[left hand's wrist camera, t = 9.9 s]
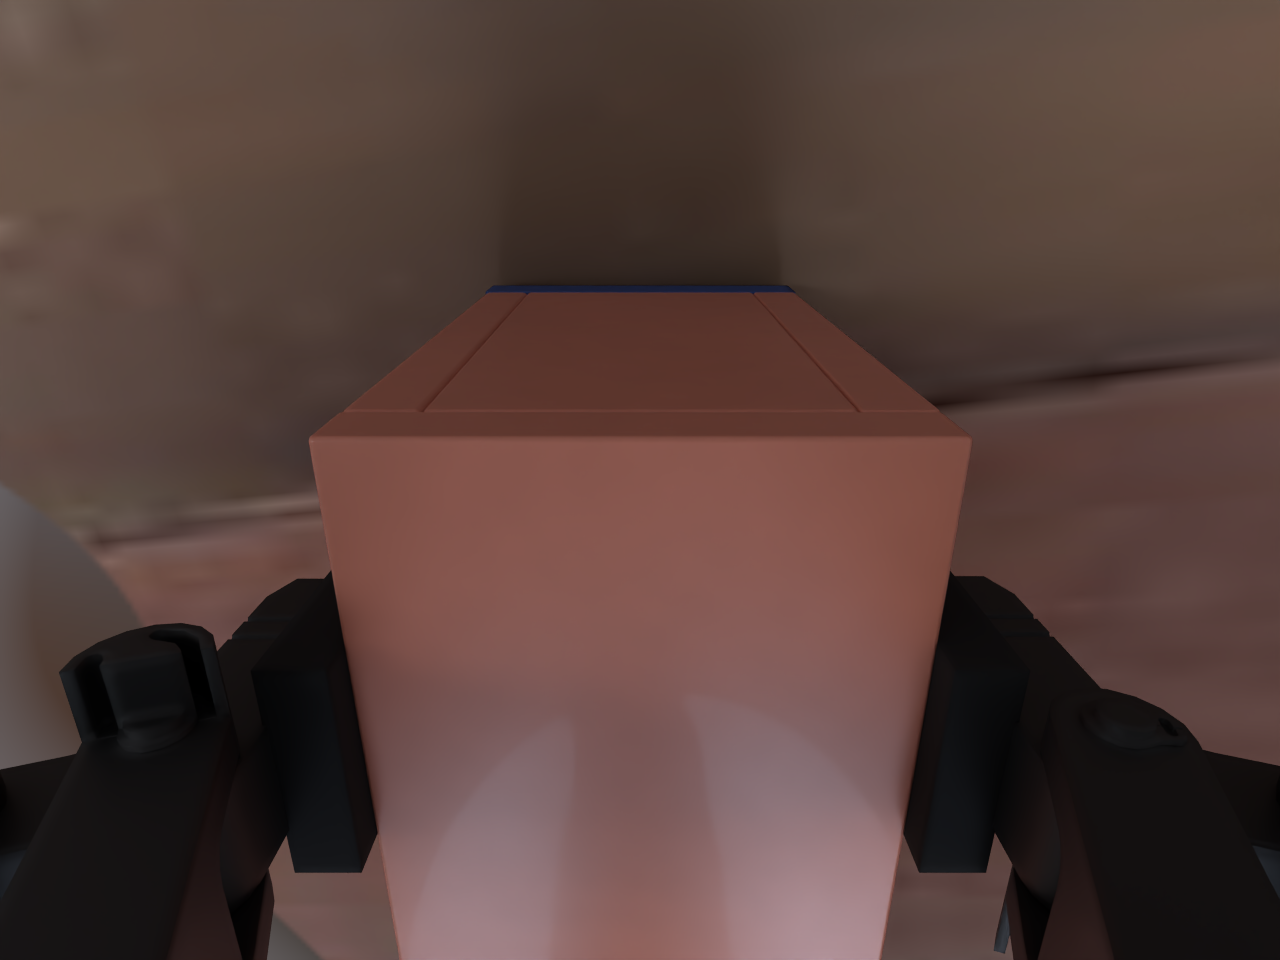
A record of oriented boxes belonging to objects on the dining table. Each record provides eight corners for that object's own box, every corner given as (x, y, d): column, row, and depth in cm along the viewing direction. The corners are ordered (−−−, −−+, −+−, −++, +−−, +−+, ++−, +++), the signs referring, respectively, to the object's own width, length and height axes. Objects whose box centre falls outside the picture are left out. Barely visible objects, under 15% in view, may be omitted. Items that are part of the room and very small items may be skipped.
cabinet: (746, 848, 22) (819, 1316, 13) (533, 848, 22) (460, 1316, 13) (787, 285, 16) (978, 436, 7) (493, 285, 16) (304, 436, 7)
